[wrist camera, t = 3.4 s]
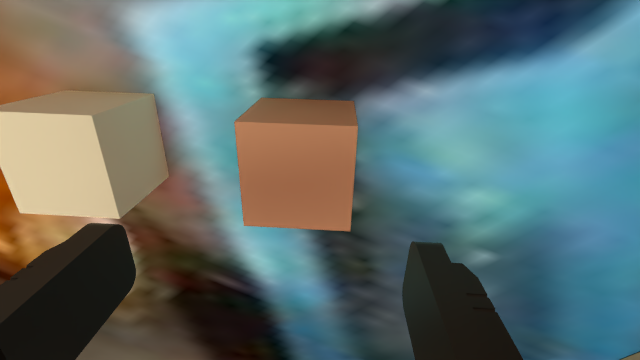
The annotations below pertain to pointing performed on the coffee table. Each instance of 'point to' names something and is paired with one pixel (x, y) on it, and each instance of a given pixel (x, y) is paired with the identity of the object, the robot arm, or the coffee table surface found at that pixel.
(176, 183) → the coffee table surface
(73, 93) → the cream cube
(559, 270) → the coffee table surface
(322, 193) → the terracotta cube
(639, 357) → the stack of blocks
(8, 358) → the robot arm
